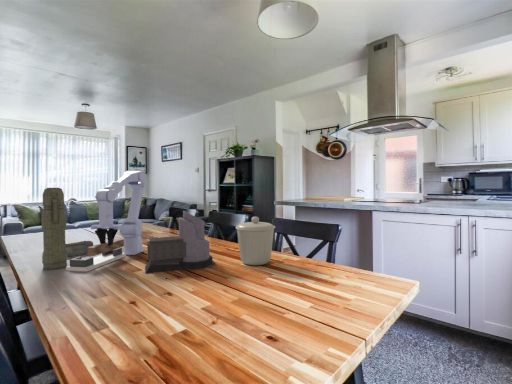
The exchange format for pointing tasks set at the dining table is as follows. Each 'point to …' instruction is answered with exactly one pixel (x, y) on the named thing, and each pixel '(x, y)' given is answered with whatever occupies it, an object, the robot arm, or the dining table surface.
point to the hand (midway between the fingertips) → (106, 244)
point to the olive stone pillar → (54, 229)
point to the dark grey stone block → (78, 248)
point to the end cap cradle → (94, 261)
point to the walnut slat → (104, 247)
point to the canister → (255, 241)
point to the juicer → (180, 248)
